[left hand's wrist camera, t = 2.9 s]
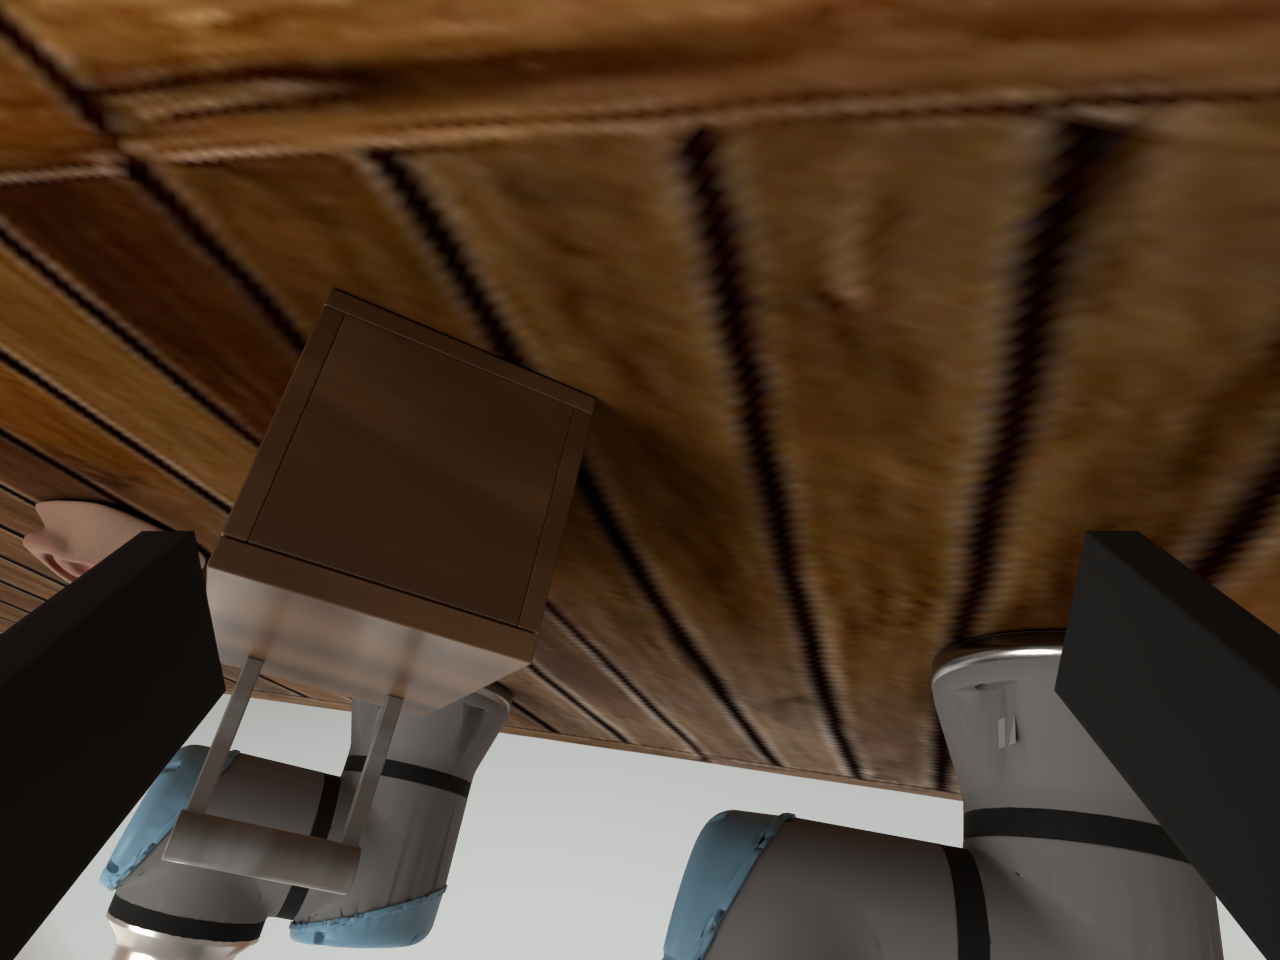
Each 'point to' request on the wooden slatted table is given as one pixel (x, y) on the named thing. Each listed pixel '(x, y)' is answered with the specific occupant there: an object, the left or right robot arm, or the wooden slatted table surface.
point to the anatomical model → (82, 535)
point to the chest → (417, 466)
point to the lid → (334, 662)
